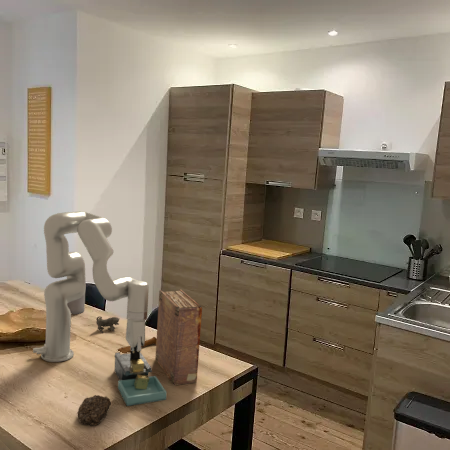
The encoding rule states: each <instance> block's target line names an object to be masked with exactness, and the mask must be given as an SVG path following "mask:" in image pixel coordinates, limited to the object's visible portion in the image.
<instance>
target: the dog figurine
mask: <svg viewBox="0 0 450 450" xmlns="http://www.w3.org/2000/svg"><path fill="white" fill-rule="evenodd" d="M119 322H120V318H119V317H116V316H111V317H108V318H104V319H103V317H102V316H101V315H100V316H97V317H96V323H95V324H96V325H97V330H98V331H99V332H100V333H101V334H104V331H103V329H105V328H106V327H107V330H109V331H115V327H116V326H117V325H120V323H119Z"/></svg>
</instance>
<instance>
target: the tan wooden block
mask: <svg viewBox="0 0 450 450" xmlns="http://www.w3.org/2000/svg"><path fill="white" fill-rule="evenodd" d="M149 377H150V376H149V374H148V375H141V374H137V376H136V379H135V383H134V386H135V388H137V389H147V385H148V382H149Z"/></svg>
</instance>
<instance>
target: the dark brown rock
mask: <svg viewBox="0 0 450 450" xmlns="http://www.w3.org/2000/svg"><path fill="white" fill-rule="evenodd" d="M111 404H112V401H111V398H109V397H107V396H102V395H98V394H97V395H96V394H95V395H93V396H90V397H85V398H84V399H83V400H82V402H81V404H79V407H78V410H77V413H76V414H77V420H78V421H79V424H81V425H84V426H90V427H93V426H97V425H98V424H100V423H101V421H102V420H104V418H106V416H108V413H109V410H110V406H111Z"/></svg>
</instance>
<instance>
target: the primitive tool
mask: <svg viewBox="0 0 450 450" xmlns="http://www.w3.org/2000/svg"><path fill="white" fill-rule="evenodd" d="M156 340H157V336H152V338H150V339H147V340H146V339H145V344H144V346H143V347H142V346H141V349H142V348H146V347H148V346H152V345H156ZM117 350H118V351H120V352H122V353H126V354H128V353H127V352H129V353H130V352H131V346H130V345H127V346H125V347H124V346H122V347H119V348H117ZM118 351H117V352H118ZM120 352H119V353H120Z"/></svg>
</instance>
